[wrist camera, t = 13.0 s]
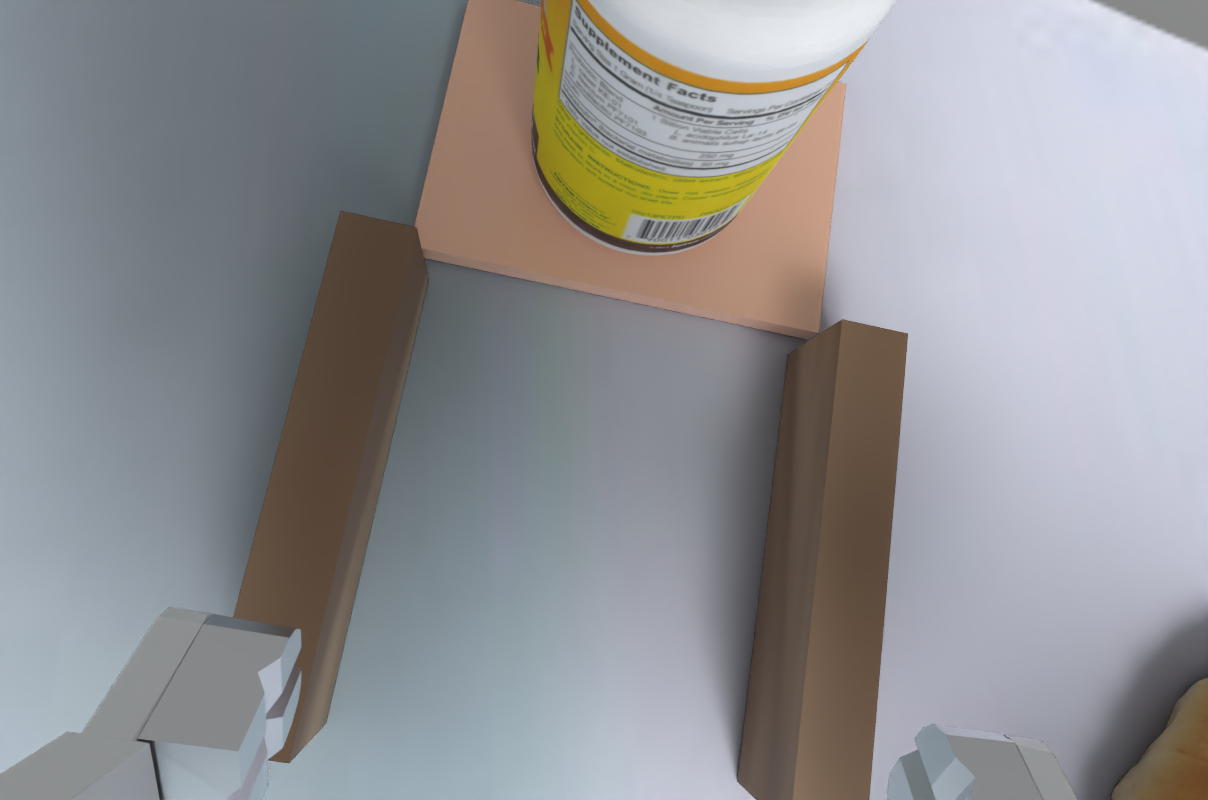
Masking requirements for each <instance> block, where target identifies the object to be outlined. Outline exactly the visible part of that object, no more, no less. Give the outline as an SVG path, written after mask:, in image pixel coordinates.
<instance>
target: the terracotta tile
mask: <svg viewBox="0 0 1208 800" xmlns="http://www.w3.org/2000/svg"><path fill="white" fill-rule="evenodd" d="M540 12H541V6H537V5H533V4H530V3H526V2H522V1H518V0H468V4H467V8H466V12H465V16H464V20H463V25H462V29H461V33H460V37H459V41H458V46H457V50H456V54H455V58H454V62H453V66H452V71H451V75H450V79H449V83H448V87H447V91H446V96H445V100H444V104H443V108H442V112H441V117H440V121H439V125H438V129H437V133H436V137H435V142H434V146H433V150H432V154H431V158H430V163H429V167H428V171H427V175H426V179H425V183H424V188H423V192H422V196H421V200H420V204H419V208H418V213H417V217H416V221H415V225H414V227H417V230H418V234H419V239H420V243H421V248H422V252H423V257H424V258H426V259H431V260H436V261H440V262H445V263H450V264H455V265H459V266H464V267H469V268H473V269H478V270H483V271H488V272H492V273H497V274H502V275H506V276H511V277H516V278H521V279H525V280H530V281H535V282H539V283H544V284H549V285H554V286H558V287H563V288H568V289H572V290H577V291H582V292H587V293H591V294H596V295H601V296H605V297H610V298H615V299H620V300H624V301H629V302H634V303H638V304H643V305H648V306H653V307H657V308H662V309H667V310H671V311H676V312H681V313H686V314H690V315H695V316H700V317H704V318H709V319H714V320H719V321H723V322H728V323H733V324H737V325H742V326H747V327H752V328H756V329H761V330H766V331H770V332H775V333H780V334H784V335H789V336H794V337H799V338H803V339H808V340H809V339H811V338H812V337H814V336H815V335H817V334H818V333H819V327H820V318H821V309H822V300H823V291H824V282H825V273H826V264H827V255H828V245H829V236H830V227H831V218H832V209H833V200H834V191H835V182H836V173H837V164H838V155H839V146H840V137H841V128H842V118H843V109H844V100H845V91H846V84H845V83H841V82H837V83H836V84H835V86H834V87H833V88H832V90H831V91H830V92H829V94H828V95H827V96H826V98H825V99H824V100H823V102H822V103H821V104H820V106H819V107H818V108H817V110H816V111H815V112H814V114H813V115H812V116H811V118H810V119H809V121H808V122H807V123H806V125H805V126H804V127H803V129H802V130H801V131H800V133H799V134H798V135H797V137H796V138H795V140H794V141H793V142H792V144H791V145H790V146H789V148H788V149H787V150H786V152H785V153H784V154H783V156H782V157H781V158H780V160H779V161H778V162H777V164H776V165H775V166H774V168H773V169H772V170H771V172H770V173H769V174H768V176H767V177H766V178H765V180H764V181H763V182H762V184H761V185H760V186H759V188H758V189H757V190H756V192H755V193H754V194H753V196H752V197H751V198H750V200H749V201H748V202H747V203H746V205H745V206H744V208H743V209H742V210H741V212H740V213H739V214H738V215H737V216H736V217H735V218H734V220H733V221H732V222H731V223H730V224H729V225H728V226H727V227H726V228H725V229H723V230H722V231H721V232H720V233H719V234H717V235H716V236H714V237H713V238H712V239H710V240H708V241H706V242H705V243H703V244H701V245H699V246H696V247H694V248H692V249H689V250H686V251H683V252H679V253H675V254H669V255H661V256H645V255H635V254H629V253H624V252H621V251H617V250H614V249H611V248H608V247H606V246H604V245H601V244H599V243H597V242H595V241H594V240H592V239H590V238H588V237H587V236H585V235H583V234H582V233H581V232H579V231H578V230H577V229H576V228H574V227H573V226H572V225H571V224H570V223H569V222H568V221H566V220H565V219H564V217H563V216H562V215H561V214H560V213H559V212H558V211H557V210H556V208H555V207H554V205H553V204H552V203H551V201H550V200H549V198H548V196H547V195H546V193H545V191H544V189H543V187H542V185H541V183H540V181H539V178H538V175H537V172H536V169H535V165H534V162H533V155H532V144H531V127H532V108H533V100H534V87H535V75H536V64H537V50H538V36H539V25H540Z"/></svg>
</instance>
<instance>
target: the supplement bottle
mask: <svg viewBox="0 0 1208 800" xmlns="http://www.w3.org/2000/svg"><path fill="white" fill-rule="evenodd" d="M895 2H896V0H542V1H541V12H540V25H539V36H538V50H537V64H536V75H535V87H534V100H533V108H532V127H531V144H532V155H533V162H534V165H535V169H536V172H537V175H538V178H539V181H540V183H541V185H542V187H543V189H544V191H545V193H546V195H547V196H548V198H549V200H550V201H551V203H552V204H553V205H554V207H555V208H556V210H557V211H558V212H559V213H560V214H561V215H562V216H563V217H564V219H565V220H566V221H568V222H569V223H570V224H571V225H572V226H573V227H574V228H576V229H577V230H578V231H579V232H581V233H582V234H583V235H585V236H587V237H588V238H590V239H592V240H594V241H595V242H597V243H599V244H601V245H604V246H606V247H608V248H611V249H614V250H617V251H621V252H624V253H629V254H635V255H645V256H661V255H669V254H675V253H679V252H683V251H686V250H689V249H692V248H694V247H696V246H699V245H701V244H703V243H705V242H706V241H708V240H710V239H712V238H713V237H714V236H716V235H717V234H719V233H720V232H721V231H722V230H723V229H725V228H726V227H727V226H728V225H729V224H730V223H731V222H732V221H733V220H734V218H735V217H736V216H737V215H738V214H739V213H740V212H741V210H742V209H743V208H744V206H745V205H746V203H747V202H748V201H749V200H750V198H751V197H752V196H753V194H754V193H755V192H756V190H757V189H758V188H759V186H760V185H761V184H762V182H763V181H764V180H765V178H766V177H767V176H768V174H769V173H770V172H771V170H772V169H773V168H774V166H775V165H776V164H777V162H778V161H779V160H780V158H781V157H782V156H783V154H784V153H785V152H786V150H787V149H788V148H789V146H790V145H791V144H792V142H793V141H794V140H795V138H796V137H797V135H798V134H799V133H800V131H801V130H802V129H803V127H804V126H805V125H806V123H807V122H808V121H809V119H810V118H811V116H812V115H813V114H814V112H815V111H816V110H817V108H818V107H819V106H820V104H821V103H822V102H823V100H824V99H825V98H826V96H827V95H828V94H829V92H830V91H831V90H832V88H833V87H834V86H835V84H836V83H837V82H838V80H839V79H840V78H841V76H842V75H843V74H844V72H845V71H846V70H847V68H848V67H849V66H850V64H851V63H852V62H853V60H854V59H855V58H856V56H857V55H858V54H859V53H860V51H861V50H862V49H863V47H864V46H865V44H866V43H867V41H868V40H869V39H870V37H871V36H872V34H873V33H874V32H875V30H876V29H877V28H878V26H879V25H880V24H881V22H882V21H883V20H884V18H885V17H886V16H887V14H888V13H889V11H890V10H891V8H892V7H893V5H894V3H895Z"/></svg>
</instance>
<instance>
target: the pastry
mask: <svg viewBox="0 0 1208 800" xmlns="http://www.w3.org/2000/svg"><path fill="white" fill-rule="evenodd" d="M1111 800H1208V677H1207V678H1204V679H1202V680H1200V681H1198V682H1196V683H1195V684H1193V685H1192V686H1191V687H1190V688H1189V689H1188V690H1187V691H1186V693H1185V694H1184V695H1183V696H1182V697H1180V698H1179V699H1178V700H1177V702H1176V704H1175V705H1174V707H1173V710H1172V713H1171V715H1170V718H1169V722H1168V723H1167V725H1166V727H1165V729H1164V731H1163V732H1162V734H1161V735H1160V736H1159V737H1158V738H1157V739H1156V740H1155V741H1154V742H1153V743H1152V744H1151V745H1150V746H1149V747H1148V748H1147V750H1146V751H1145V753H1144V754H1143V756H1142V758H1141V759H1140V760H1139V762H1138V763H1137V764H1136V765H1135V766H1133V767H1132V768H1131V769H1130V770H1128V771H1127V772H1126V773H1125V774H1124V775H1123V777H1122V778H1121V779H1120V780H1119V782H1118V783H1117V785H1116V786H1115V788H1114V789H1113V792H1112V794H1111Z"/></svg>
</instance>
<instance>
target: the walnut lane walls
mask: <svg viewBox="0 0 1208 800" xmlns="http://www.w3.org/2000/svg"><path fill="white" fill-rule="evenodd" d="M428 280H429V279H428V274H427V270H426V265H425V261H424V257H423V252H422V248H421V243H420V239H419V234H418V230H417V227H413V226H408V225H404V224H399V223H395V222H390V221H385V220H381V219H376V218H372V217H367V216H362V215H358V214H353V213H348V212H344V211H340V214H339V218H338V222H337V226H336V229H335V233H334V237H333V241H332V245H331V248H330V252H329V256H328V260H327V263H326V267H325V271H324V275H323V279H322V282H321V286H320V290H319V294H318V298H317V301H316V305H315V309H314V313H313V317H312V320H311V324H310V328H309V332H308V336H307V339H306V343H305V347H304V351H303V355H302V358H301V362H300V366H299V370H298V374H297V377H296V381H295V385H294V389H293V393H292V396H291V400H290V404H289V408H288V412H287V415H286V419H285V423H284V427H283V430H282V434H281V438H280V442H279V446H278V449H277V453H276V457H275V461H274V465H273V468H272V472H271V476H270V480H269V484H268V487H267V491H266V495H265V499H264V503H263V506H262V510H261V514H260V518H259V522H258V525H257V529H256V533H255V537H254V541H253V544H252V548H251V552H250V556H249V560H248V563H247V567H246V571H245V575H244V579H243V582H242V586H241V590H240V594H239V597H238V601H237V605H236V609H235V613H234V616H233V618H239V619H245V620H251V621H256V622H262V623H268V624H274V625H279V626H285V627H291V628H297V629H301V649H300V651H299V654H298V656H297V659H296V661H295V664H296V665H297V666H298V667H299V668H300V669H301V687H300V694H299V700H298V704H297V707H296V711H295V714H294V718H293V722H292V725H291V728H290V730H289V733H288V736H287V738H286V741H285V743H284V746H283V748H282V749H281V750H280V751H278V752H277V753H276V754H275V755H273V756H272V757H271V758H269V759H268V760H269V761H276V762H284V763H290V762H291V761H292V760H293V758H294V757H295V756H296V755H297V754H298V753H299V752H300V751H301V750H302V749H303V748H304V747H305V746H306V744H307V743H308V742H309V741H310V740H311V739H312V738H313V737H314V736H315V735H316V734H317V733H318V731H319V730H320V729H321V728H322V727H323V726H324V725H325V724H326V722H327V717H328V713H329V709H330V704H331V700H332V696H333V691H334V687H335V683H336V678H337V674H338V670H339V665H340V661H341V657H342V652H343V648H344V644H345V639H346V635H347V631H348V626H349V622H350V618H351V613H352V609H353V605H354V600H355V596H356V592H357V588H358V583H359V579H360V575H361V570H362V566H363V562H364V557H365V553H366V549H367V544H368V540H369V536H370V531H371V527H372V523H373V518H374V514H375V510H376V505H377V501H378V497H379V492H380V488H381V484H382V479H383V475H384V471H385V466H386V462H387V458H388V453H389V449H390V445H391V440H392V436H393V432H394V427H395V423H396V419H397V414H398V410H399V406H400V401H401V397H402V393H403V388H404V384H405V380H406V375H407V371H408V367H409V362H410V358H411V354H412V349H413V345H414V341H415V336H416V332H417V328H418V323H419V319H420V315H421V310H422V306H423V302H424V297H425V293H426V289H427V285H428ZM907 340H908V334H907V333H903V332H898V331H893V330H889V329H884V328H880V327H875V326H870V325H866V324H861V323H857V322H852V321H847V320H843V319H842V320H841V321H839V322H837V323H836V324H834V325H833V326H831V327H830V328H828V329H827V330H825V331H823V332H822V333H820V334H819V335H817V336H816V337H814V338H813V339H811V340H810V341H808V342H806V343H805V344H803V345H802V346H800V347H799V348H797V349H796V350H794V351H792V352H791V353H789V354H788V357H787V365H786V374H785V382H784V391H783V399H782V408H781V416H780V424H779V433H778V441H777V450H776V458H775V466H774V475H773V483H772V492H771V500H770V509H769V517H768V525H767V534H766V542H765V551H764V559H763V568H762V576H761V584H760V593H759V601H758V610H757V618H756V626H755V635H754V643H753V652H752V660H751V669H750V677H749V685H748V694H747V702H746V711H745V719H744V727H743V736H742V744H741V753H740V761H739V770H738V778H737V782H738V783H739V784H740V785H741V786H742V787H744V788H745V789H746V790H747V791H748V792H749V793H750V794H751V795H752V796H753V797H754V798H755V799H756V800H869V795H870V783H871V771H872V759H873V747H874V735H875V723H876V711H877V699H878V687H879V675H880V663H881V651H882V639H883V627H884V615H885V603H886V591H887V579H888V567H889V555H890V543H891V531H892V519H893V507H894V495H895V483H896V471H897V459H898V447H899V435H900V423H901V411H902V399H903V387H904V376H905V364H906V352H907Z"/></svg>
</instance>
